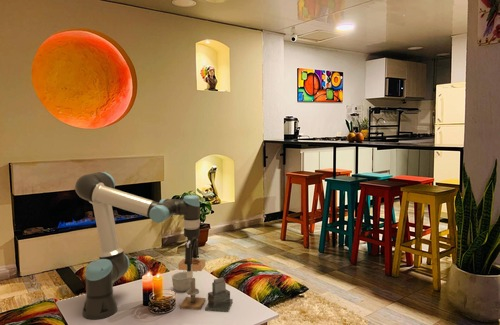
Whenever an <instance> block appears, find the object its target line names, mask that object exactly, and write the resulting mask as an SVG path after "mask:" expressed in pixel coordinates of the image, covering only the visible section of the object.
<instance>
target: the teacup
mask: <svg viewBox="0 0 500 325" xmlns="http://www.w3.org/2000/svg"><path fill="white" fill-rule="evenodd" d="M171 279H172V280H171V282H172V287H173V289H174V290H176V292H177V291H178V292H187V290H189V289H190V278H188V277H187V270H182V271H180V272H179V271H178V272H175V273H174V274H172V275H171Z"/></svg>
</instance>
